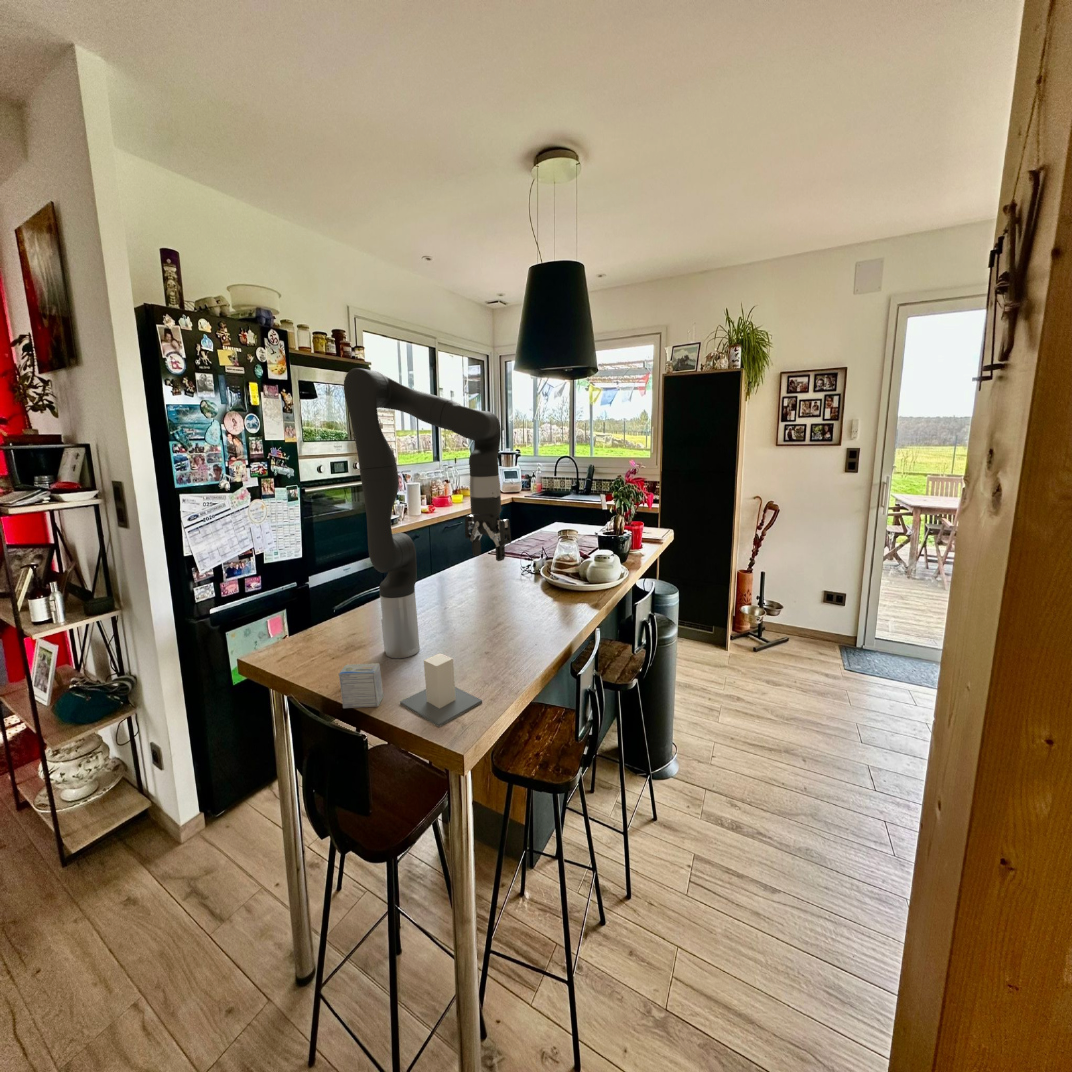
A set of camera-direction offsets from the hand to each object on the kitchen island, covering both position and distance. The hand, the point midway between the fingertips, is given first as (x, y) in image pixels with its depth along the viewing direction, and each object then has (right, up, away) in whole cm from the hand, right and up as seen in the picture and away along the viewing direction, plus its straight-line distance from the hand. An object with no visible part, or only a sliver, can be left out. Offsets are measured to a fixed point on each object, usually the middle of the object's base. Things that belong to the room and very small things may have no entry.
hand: (488, 557), depth 124 cm
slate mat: (-9, -32, -14) cm, 36 cm away
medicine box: (-27, -33, -13) cm, 44 cm away
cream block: (-9, -31, -14) cm, 36 cm away
